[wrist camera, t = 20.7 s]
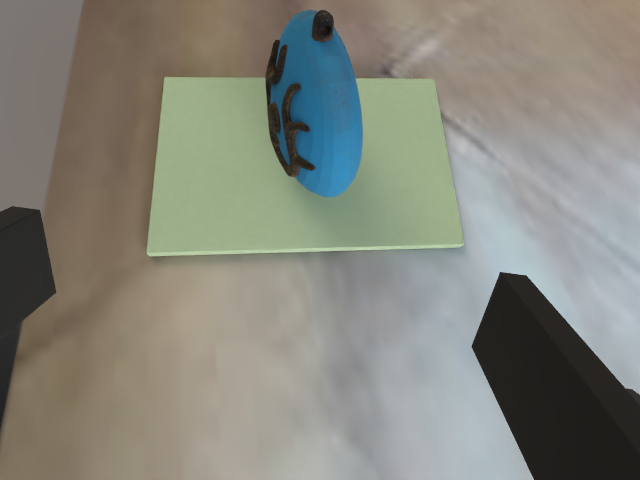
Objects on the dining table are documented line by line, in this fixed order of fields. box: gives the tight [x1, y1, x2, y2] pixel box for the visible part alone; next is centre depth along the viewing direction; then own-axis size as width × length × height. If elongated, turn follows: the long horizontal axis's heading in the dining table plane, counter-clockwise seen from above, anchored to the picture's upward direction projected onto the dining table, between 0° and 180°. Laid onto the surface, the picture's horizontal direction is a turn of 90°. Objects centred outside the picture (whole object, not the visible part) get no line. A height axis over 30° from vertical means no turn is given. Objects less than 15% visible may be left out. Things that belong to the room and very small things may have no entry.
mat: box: [146, 77, 464, 256], centre depth 24 cm, size 18×12×1 cm, turn 93°
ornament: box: [266, 10, 363, 197], centre depth 19 cm, size 8×5×10 cm, turn 17°
